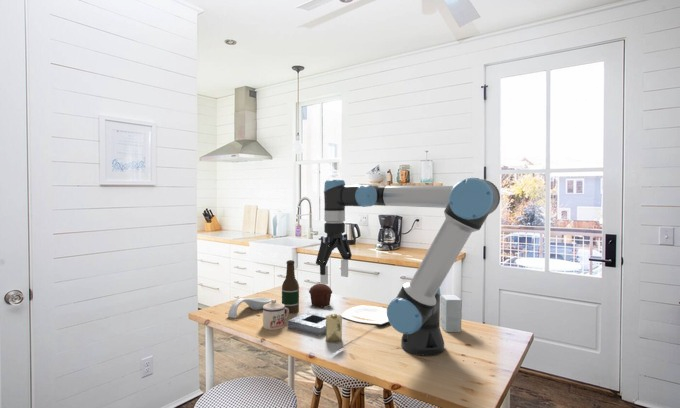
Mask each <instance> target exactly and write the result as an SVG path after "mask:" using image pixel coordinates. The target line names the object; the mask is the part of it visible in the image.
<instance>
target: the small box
mask: <svg viewBox="0 0 680 408" xmlns="http://www.w3.org/2000/svg"><path fill="white" fill-rule="evenodd" d="M462 301H463V300H462V299H461V298H460V297H459V296H457V295H456V294H441V296H440V328H442V329H443V330H444V332H445V333H462V315H463V314H462V308H463V307H462Z"/></svg>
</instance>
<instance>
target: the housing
mask: <svg viewBox="0 0 680 408" xmlns="http://www.w3.org/2000/svg"><path fill="white" fill-rule="evenodd" d="M327 315H328V314H323V313H319V312H317V311H316V312H315V311H311V310H309V311H306V312H303V313H302V314H299V315H297V316H295V317H293V318H291V319H288V320H287V328H288V329H292V330H295V331H298V332H303V333H305V334H310V335H315V336H318V337H322V336H324V335H326V316H327Z"/></svg>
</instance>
